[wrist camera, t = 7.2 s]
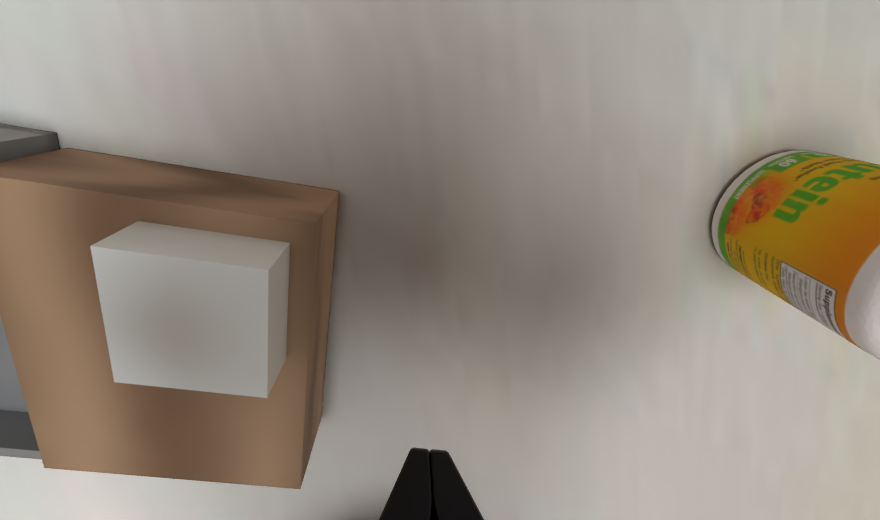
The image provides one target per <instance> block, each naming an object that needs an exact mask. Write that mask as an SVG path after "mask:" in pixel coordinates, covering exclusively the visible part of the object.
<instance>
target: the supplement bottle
mask: <svg viewBox="0 0 880 520" xmlns="http://www.w3.org/2000/svg"><path fill="white" fill-rule="evenodd" d="M712 238H713V242H714V245H715V248H716V250H717V252H718V254H719V255H720V257H721V258H722V259H723V260H724V261H725V262H726V263H727V264H728V265H730V266H731V267H733V268H734V269H735V270H737V271H738V272H740V273H741V274H743V275H744V276H746V277H747V278H749V279H751V280H752V281H754V282H755V283H757V284H759V285H760V286H762V287H763V288H765V289H767V290H768V291H770V292H771V293H773V294H774V295H776V296H778V297H779V298H781V299H782V300H784V301H786V302H787V303H789V304H790V305H792V306H794V307H795V308H797V309H798V310H800V311H802V312H803V313H805V314H807V315H808V316H810V317H811V318H813V319H815V320H816V321H818V322H819V323H821V324H823V325H824V326H826V327H827V328H829V329H831V330H832V331H834V332H835V333H837V334H839V335H840V336H842V337H843V338H845V339H846V340H848V341H849V342H851V343H853V344H854V345H856V346H858V347H859V348H861V349H862V350H864V351H865V352H867V353H869V354H871V355H873V356H874V357H876V358H878V359H880V165H878V164H873V163H869V162H864V161H859V160H854V159H849V158H844V157H840V156H835V155H830V154H826V153H820V152H813V151H804V150H796V151H787V152H782V153H778V154H775V155H772V156H769V157H767V158H765V159H763V160H761V161H759V162H757V163H756V164H754V165H752V166H751V167H749V168H748V169H747V170H746V171H744V172H743V173H742V174H741V175H740V176H738V177H737V178H736V179H735V180H734V181H733V183H732V184H731V185H730V186H729V187H728V189H727V190H726V191H725V193H724V194H723V196H722V198H721V199H720V201H719V203H718V205H717V208H716V210H715V213H714V216H713V221H712Z"/></svg>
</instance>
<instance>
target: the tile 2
mask: <svg viewBox="0 0 880 520" xmlns="http://www.w3.org/2000/svg"><path fill="white" fill-rule="evenodd" d="M90 248H91V253H92V259H93V265H94V270H95V276H96V282H97V287H98V293H99V299H100V304H101V310H102V316H103V321H104V327H105V333H106V338H107V344H108V350H109V355H110V361H111V367H112V372H113V378H114V382H117V383H127V384H137V385H146V386H156V387H165V388H175V389H184V390H194V391H204V392H213V393H223V394H232V395H242V396H251V397H261V398H268V395H269V393H270V391H271V389H272V387H273V385H274V383H275V381H276V379H277V377H278V375H279V373H280V370H281V368H282V366H283V364H284V362H285V360H286V352H287V321H288V290H289V258H290V243H288V242H281V241H274V240H267V239H260V238H253V237H246V236H239V235H232V234H225V233H218V232H211V231H204V230H197V229H190V228H183V227H176V226H169V225H162V224H155V223H148V222H141V221H138V222H136V223H134V224H132V225H130V226H128V227H126V228H124V229H122V230H120V231H118V232H116V233H114V234H112V235H110V236H109V237H107V238H105V239H103V240H101V241H99V242H97V243H95V244H93V245H91V246H90Z"/></svg>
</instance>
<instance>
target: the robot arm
mask: <svg viewBox="0 0 880 520" xmlns="http://www.w3.org/2000/svg"><path fill="white" fill-rule="evenodd" d="M379 520H484V519H483V517H482V515H481V513H480V511H479V509H478V508H477V506H476V504H475V502H474V500H473V498H472V496H471V494H470V492H469V490H468V489H467V487H466V485H465V483H464V481H463V479H462V477H461V475H460V473H459V472H458V470H457V468H456V466H455V464H454V462H453V460H452V458H451V456H450V455H449V453H448V452H447V451H444V450H434V449H432V450H430V451H428V449H423V448H412V449H411V450H410V451H409V454H408V456H407V458H406V460H405V463H404V465H403V467H402V469H401V472H400V474H399V476H398V478H397V481H396V483H395V485H394V487H393V490H392V492H391V494H390V496H389V499H388V501H387V503H386V505H385V508H384V510H383V512H382V514H381V517H380V519H379Z"/></svg>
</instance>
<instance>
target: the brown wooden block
mask: <svg viewBox="0 0 880 520" xmlns="http://www.w3.org/2000/svg"><path fill="white" fill-rule="evenodd" d="M338 199H339V191H336V190H330V189H324V188H317V187H311V186H305V185H298V184H292V183H286V182H279V181H273V180H267V179H260V178H254V177H248V176H242V175H235V174H229V173H223V172H216V171H210V170H204V169H197V168H191V167H185V166H178V165H172V164H166V163H159V162H153V161H147V160H140V159H134V158H128V157H121V156H115V155H109V154H103V153H96V152H90V151H84V150H77V149H71V148H65V149H60V150H56V151H51V152H46V153H41V154H36V155H32V156H27V157H22V158H17V159H12V160H8V161H3V162H0V317H1V320H2V324H3V327H4V331H5V334H6V337H7V341H8V344H9V348H10V351H11V355H12V358H13V361H14V365H15V368H16V372H17V375H18V379H19V382H20V385H21V389H22V392H23V396H24V399H25V403H26V406H27V410H28V413H29V416H30V420H31V423H32V427H33V430H34V434H35V437H36V440H37V444H38V447H39V451H40V454H41V458H42V461H43V464H44V468H52V469H64V470H77V471H89V472H101V473H113V474H125V475H137V476H149V477H161V478H173V479H185V480H197V481H210V482H222V483H234V484H246V485H258V486H270V487H282V488H294V489H300V488H301V485H302V481H303V478H304V475H305V471H306V468H307V464H308V461H309V458H310V454H311V451H312V447H313V444H314V441H315V437H316V434H317V430H318V427H319V424H320V420H321V414H322V402H323V389H324V376H325V364H326V351H327V338H328V326H329V313H330V300H331V288H332V275H333V263H334V250H335V237H336V225H337V212H338ZM138 221H141V222H148V223H155V224H162V225H169V226H176V227H183V228H190V229H197V230H204V231H211V232H218V233H225V234H232V235H239V236H246V237H253V238H260V239H267V240H274V241H281V242H288V243H290V258H289V290H288V321H287V352H286V360H285V362H284V364H283V366H282V368H281V370H280V373H279V375H278V377H277V379H276V381H275V383H274V385H273V387H272V389H271V391H270V393H269V395H268V398H261V397H251V396H242V395H232V394H223V393H213V392H204V391H194V390H184V389H175V388H165V387H156V386H146V385H137V384H127V383H117V382H114V378H113V372H112V367H111V361H110V355H109V350H108V344H107V338H106V333H105V327H104V321H103V316H102V310H101V304H100V299H99V293H98V287H97V282H96V276H95V270H94V265H93V259H92V253H91V248H90V246H91V245H93V244H95V243H97V242H99V241H101V240H103V239H105V238H107V237H109V236H110V235H112V234H114V233H116V232H118V231H120V230H122V229H124V228H126V227H128V226H130V225H132V224H134V223H136V222H138Z"/></svg>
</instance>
